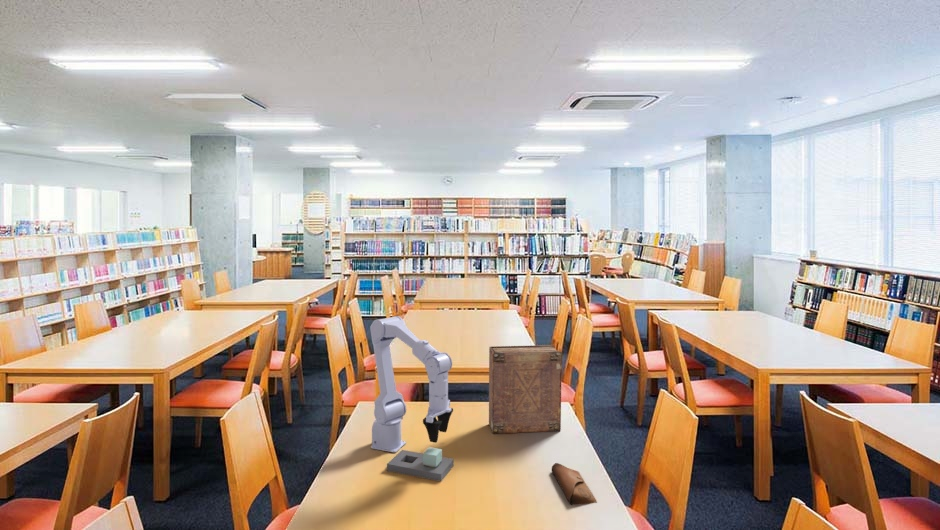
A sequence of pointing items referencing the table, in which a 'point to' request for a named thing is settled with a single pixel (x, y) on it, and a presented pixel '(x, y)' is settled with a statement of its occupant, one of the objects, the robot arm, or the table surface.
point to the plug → (432, 457)
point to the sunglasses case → (573, 485)
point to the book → (524, 389)
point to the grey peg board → (419, 466)
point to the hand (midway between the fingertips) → (438, 436)
